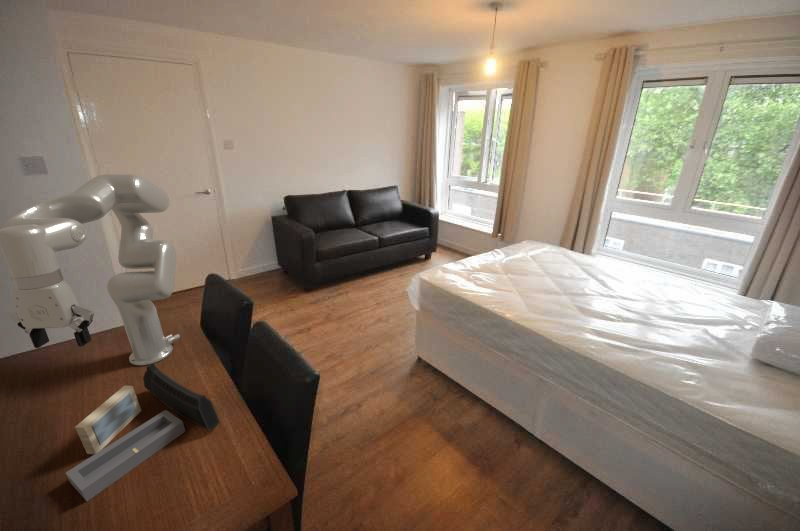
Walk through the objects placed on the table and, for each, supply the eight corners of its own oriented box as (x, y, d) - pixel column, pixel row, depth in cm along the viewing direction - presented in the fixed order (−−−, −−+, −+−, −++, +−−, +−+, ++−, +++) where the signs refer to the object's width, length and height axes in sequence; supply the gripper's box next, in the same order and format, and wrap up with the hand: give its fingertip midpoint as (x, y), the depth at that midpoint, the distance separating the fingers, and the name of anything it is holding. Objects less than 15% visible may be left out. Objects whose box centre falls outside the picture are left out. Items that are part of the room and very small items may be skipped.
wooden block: (133, 410, 95) (124, 385, 92) (142, 411, 95) (133, 386, 91) (87, 454, 82) (74, 426, 79) (97, 454, 82) (85, 427, 78)
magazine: (220, 404, 86) (150, 343, 95) (209, 412, 83) (138, 349, 93) (220, 442, 94) (155, 383, 103) (209, 450, 92) (144, 389, 101)
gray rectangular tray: (168, 419, 92) (165, 409, 91) (185, 431, 89) (182, 421, 87) (70, 483, 75) (65, 472, 74) (86, 501, 71) (81, 490, 70)
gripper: (-21, 286, 71) (9, 354, 77) (66, 285, 73) (89, 351, 78) (14, 274, 78) (40, 337, 84) (93, 273, 80) (112, 335, 85)
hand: (64, 344), depth 81 cm, fingers open, 9 cm apart
